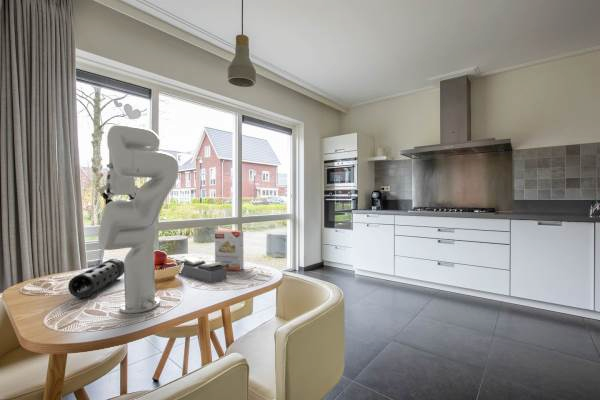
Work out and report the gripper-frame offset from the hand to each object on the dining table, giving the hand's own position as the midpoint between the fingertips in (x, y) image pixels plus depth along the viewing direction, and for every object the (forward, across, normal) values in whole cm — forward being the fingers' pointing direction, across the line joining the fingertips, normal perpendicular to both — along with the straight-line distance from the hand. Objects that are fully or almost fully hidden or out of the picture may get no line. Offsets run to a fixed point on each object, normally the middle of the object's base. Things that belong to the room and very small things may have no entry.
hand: (121, 208), depth 119 cm
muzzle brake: (+35, -2, +11) cm, 37 cm away
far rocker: (+29, +30, -10) cm, 43 cm away
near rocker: (+28, +27, -24) cm, 46 cm away
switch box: (+35, +29, -17) cm, 48 cm away
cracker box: (+35, +44, -22) cm, 60 cm away
